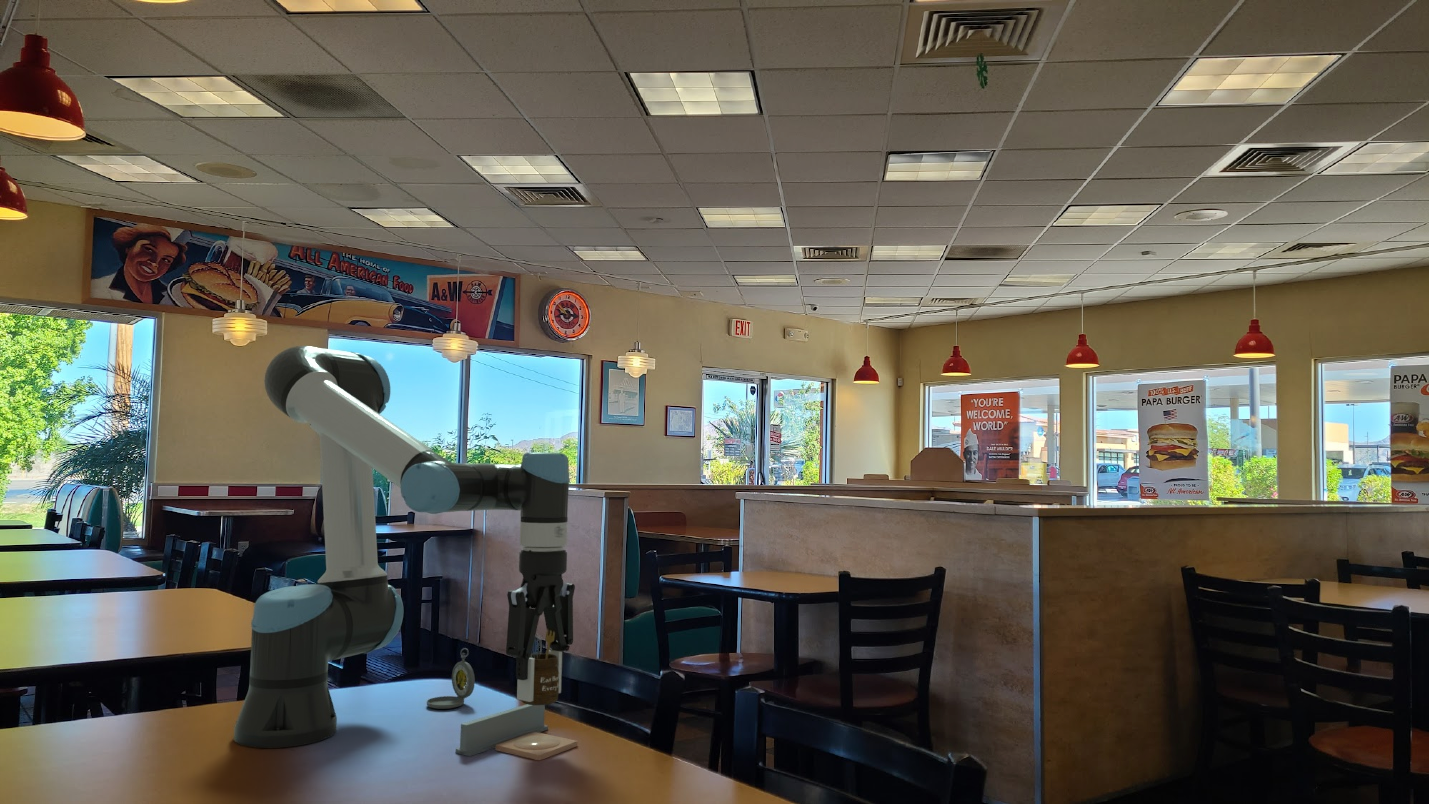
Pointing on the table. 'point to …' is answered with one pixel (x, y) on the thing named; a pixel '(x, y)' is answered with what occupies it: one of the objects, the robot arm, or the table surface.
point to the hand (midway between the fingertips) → (539, 695)
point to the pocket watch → (457, 686)
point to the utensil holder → (545, 675)
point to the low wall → (500, 728)
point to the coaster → (536, 745)
